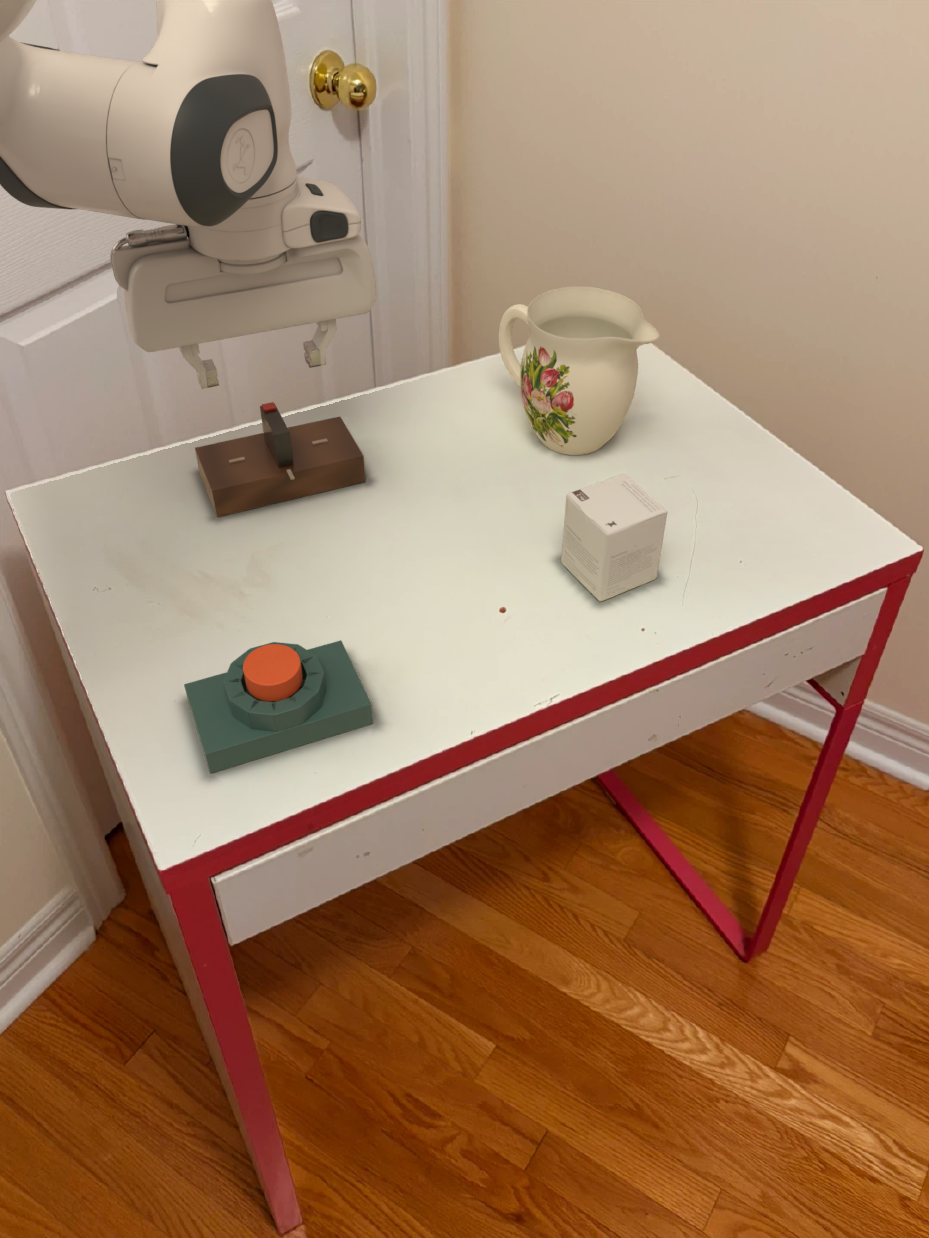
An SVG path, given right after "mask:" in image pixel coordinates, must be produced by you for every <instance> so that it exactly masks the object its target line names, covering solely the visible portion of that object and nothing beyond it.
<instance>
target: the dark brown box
mask: <svg viewBox="0 0 929 1238" xmlns="http://www.w3.org/2000/svg"><path fill="white" fill-rule="evenodd" d="M259 410H260V417H261V425H262V431H263V432H262V433H264V438H265V440H266V442H267V444H268V446H269V448H270V450H271V453H272V455H273V457H274V459H275V461H276V463H277V465H278V467H283V466H288V465H292V464H294V463H293V455H292V447H291V439H290V432H289V430H288V426H287V424H286V422H285V420H284V418H283V416H282V414H281V413H280V411H279V409H278V407H277V405H276V403H275V402H274V401H271V402H267V403H261V405H260V406H259Z"/></svg>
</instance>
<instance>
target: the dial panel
mask: <svg viewBox="0 0 929 1238" xmlns="http://www.w3.org/2000/svg"><path fill="white" fill-rule="evenodd" d="M287 428H288V430H289V432H290V439H291V447H292V455H293V463H294V464H292V465H288V466H283V467H278V465H277V463H276V461H275V459H274V457H273V455H272V453H271V450H270V448H269V446H268V444H267V442H266V440H265V438H264V432H260V433H257V434H256V433H255V434H251V435H247V436H242V437H238V438H237V437H236V438H234V439H228V440H224V441H219V442H215V443H210V444H204V445H201V446H197V447H194V452H195V457H196V461H197V465H198V471H199V475H200V477H201V481H202V483H203V485H204V488H205V490H206V493H207V496H208V497H209V500H210V503H211V506H212V508H213V511H214V512H215V515H216V518H220V517H224V516H229V515H233V514H236V513H240V512H241V513H242V512H246V511H249V510H254V509H258V508H261V507H266V506H270V505H275V504H278V503H283V502H287V501H292V500H296V499H300V498H304V497H308V496H313V495H317V494H321V493H325V492H329V491H332V490H337V489H342V488H346V487H350V486H355V485H358V484H363V483H366V469H365V468H366V467H365V456H364V454H363V452H362V451H361V449H360V447H359V446H358V444H357V442H356V440H355V439H354V437H353V435H352V433H351V432H350V430H349V429H348V427H347V425H346V424H345V422H344V419H342V417H341V415H340V416H335V417H330V418H326V419H321V420H317V421H312V422H307V423H303V424H298V425H293V426H289V427H288V426H287Z"/></svg>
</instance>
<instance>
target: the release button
mask: <svg viewBox="0 0 929 1238" xmlns="http://www.w3.org/2000/svg"><path fill="white" fill-rule="evenodd" d="M243 672H244V677H245V682H246V686H247V689H248V691H249V693H250V694H251V695H252V696H254V697H255V698H257V699H259V700H263V701H270V702H272V701H280V700H283V699H286V698H288V697H290V696H292V695H293V694H294V693H296V692H297V691H298V689H299V688H300V686H301V684H302V680H303V676H302V669H301V662H300V658H299V655H298V654H297V653H296V652H295V651H294V650H293V649H292V648H290V647H288V646H285V645H280V644H270V645H265V646H262V647H259V648H257V649H255V650H254V651H252V652H251V653H250V654H249V655H248V656H247V657H246V659H245V661H244V664H243Z"/></svg>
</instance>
